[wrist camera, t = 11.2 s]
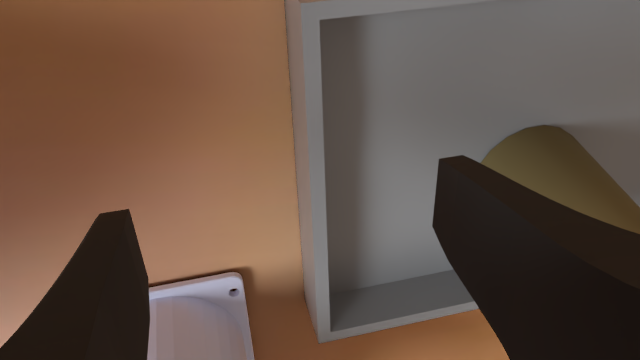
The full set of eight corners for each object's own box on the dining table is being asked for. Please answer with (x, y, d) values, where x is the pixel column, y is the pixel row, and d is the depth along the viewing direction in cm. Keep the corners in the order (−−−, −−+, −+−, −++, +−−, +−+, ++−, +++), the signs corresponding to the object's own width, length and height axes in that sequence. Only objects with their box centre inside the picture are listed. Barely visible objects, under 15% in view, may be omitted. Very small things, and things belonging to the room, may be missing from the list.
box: (670, 225, 33) (711, 257, 31) (304, 299, 29) (318, 343, 27) (782, -68, 24) (852, -55, 22) (282, -20, 20) (300, 3, 18)
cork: (576, 209, 30) (763, 378, 21) (470, 245, 29) (616, 436, 20) (585, 109, 26) (814, 260, 17) (465, 147, 26) (638, 326, 17)
